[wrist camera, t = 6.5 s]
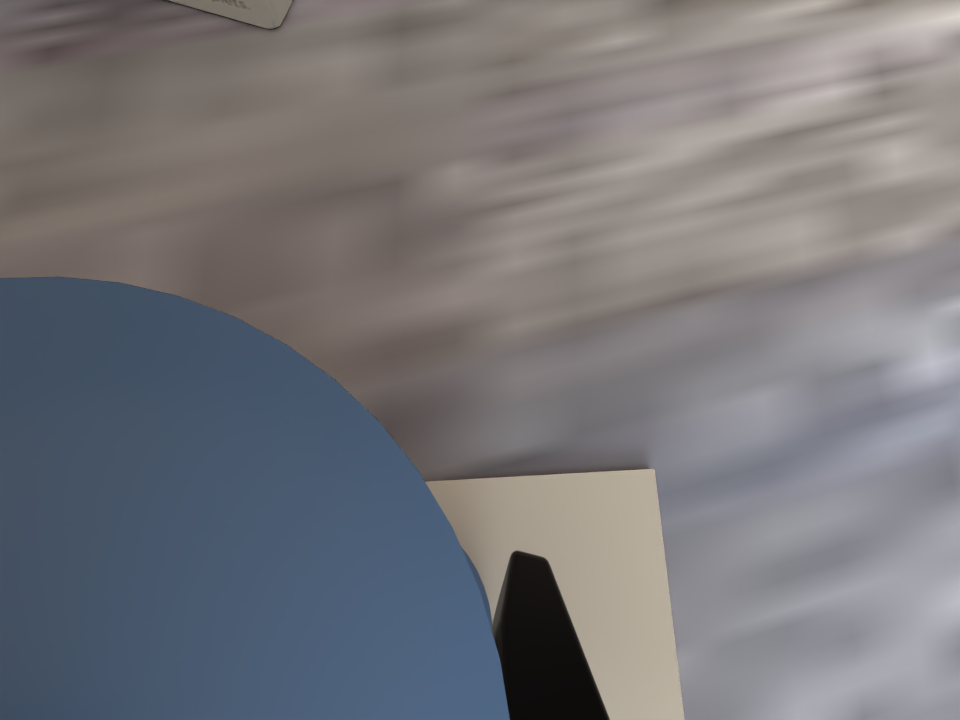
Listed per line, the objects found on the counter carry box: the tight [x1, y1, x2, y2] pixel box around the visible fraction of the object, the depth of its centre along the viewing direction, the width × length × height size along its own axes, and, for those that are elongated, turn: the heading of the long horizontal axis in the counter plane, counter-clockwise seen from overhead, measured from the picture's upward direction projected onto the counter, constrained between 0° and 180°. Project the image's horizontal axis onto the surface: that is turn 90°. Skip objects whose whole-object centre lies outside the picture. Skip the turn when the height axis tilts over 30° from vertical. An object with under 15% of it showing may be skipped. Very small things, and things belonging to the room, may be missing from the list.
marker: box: [0, 277, 510, 720], centre depth 9 cm, size 4×4×13 cm
